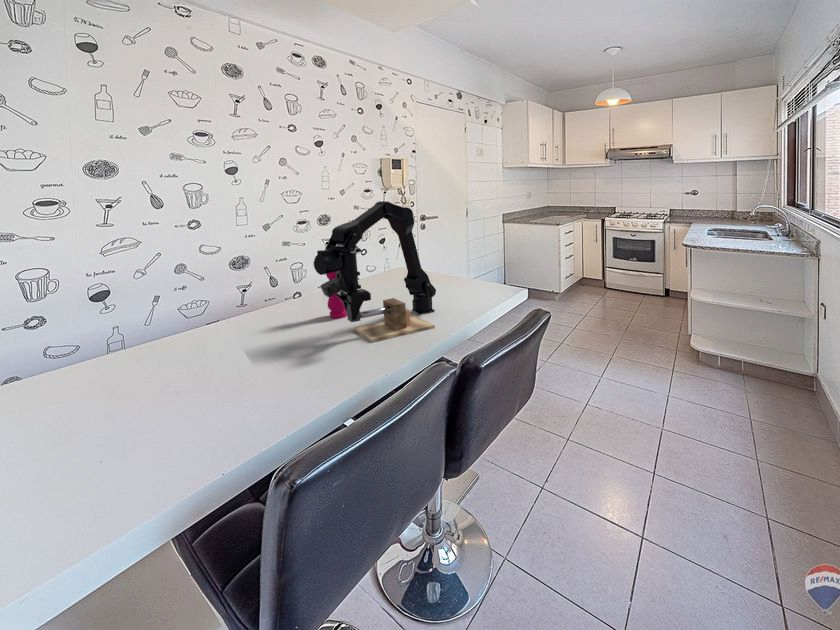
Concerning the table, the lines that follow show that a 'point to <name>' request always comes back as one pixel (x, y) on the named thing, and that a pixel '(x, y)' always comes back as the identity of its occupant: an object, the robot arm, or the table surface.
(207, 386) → the table surface
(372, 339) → the base plate
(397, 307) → the bearing block
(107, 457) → the table surface
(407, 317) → the spacer
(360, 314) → the shaft
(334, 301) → the pepper mill
